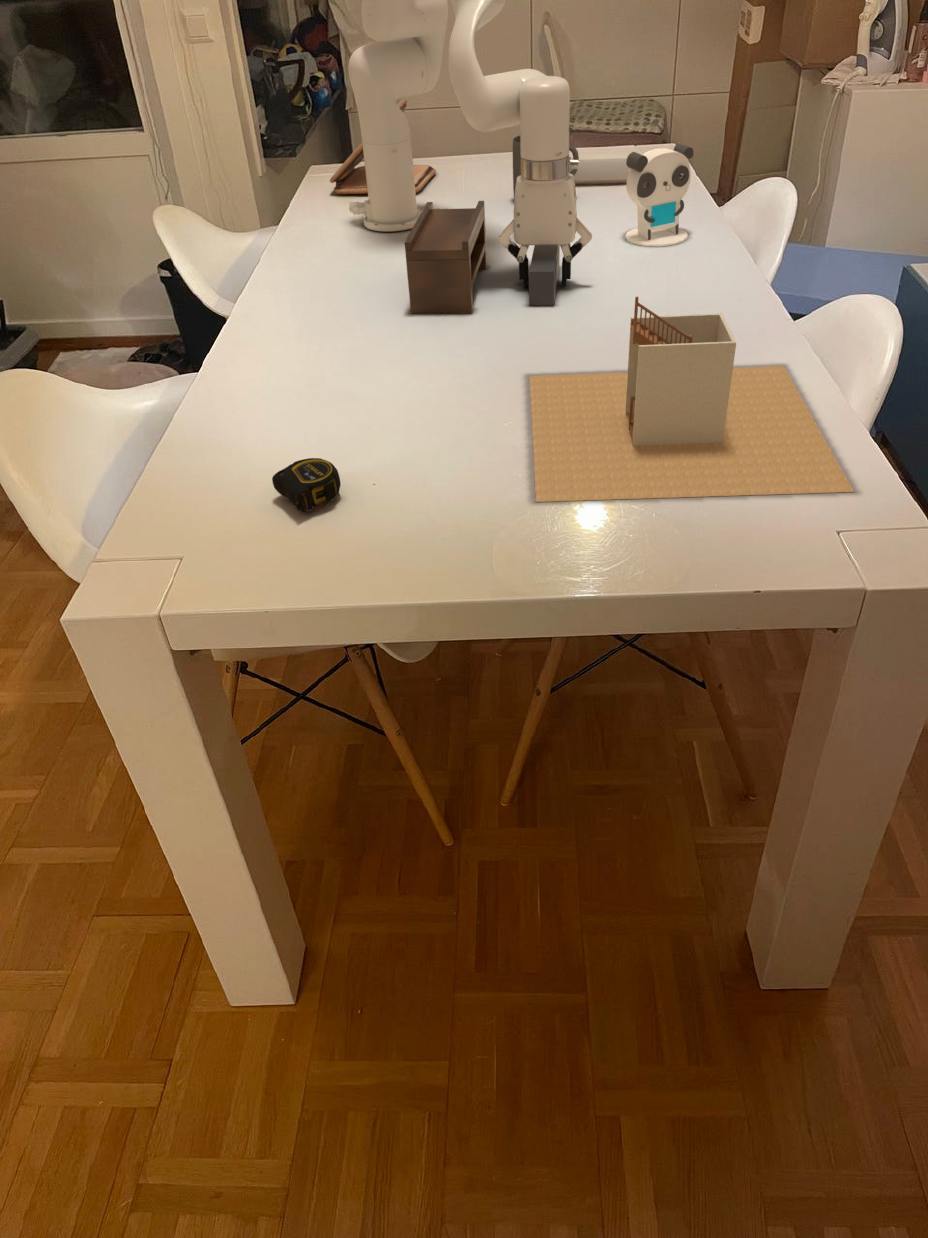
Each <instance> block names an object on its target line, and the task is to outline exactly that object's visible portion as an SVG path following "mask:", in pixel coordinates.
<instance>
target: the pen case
mask: <svg viewBox="0 0 928 1238" xmlns="http://www.w3.org/2000/svg"><path fill="white" fill-rule="evenodd" d="M560 249H561V247H560V245H533V251H532V255H531V259H530V260H531V261H530V264H529V265H530V266H529V268H528V272H529V281H528V306H529V307H538V306H539V307H543V306H545V307H548V306H551V307H552V306H555V301H556V294H557V287H558V281H559V274H560V261H561V259H560V251H561V250H560Z"/></svg>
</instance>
